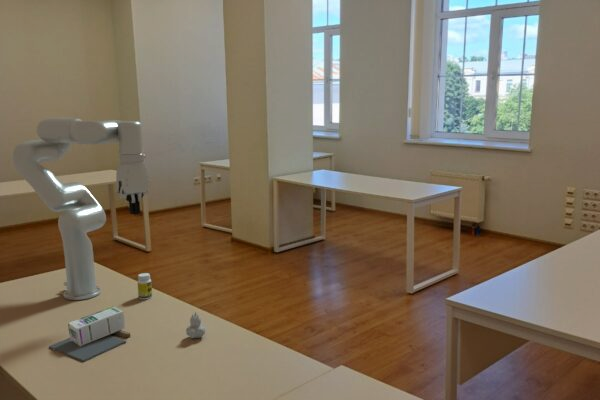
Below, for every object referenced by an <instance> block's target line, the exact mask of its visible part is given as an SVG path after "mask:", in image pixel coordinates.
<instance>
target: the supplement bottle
mask: <svg viewBox="0 0 600 400" xmlns="http://www.w3.org/2000/svg"><path fill="white" fill-rule="evenodd" d="M152 288H153V287H152V279H151V275H150V273H148V272H145V273H140V274H139V273H138V275H137V295H138V299H139V300H149V299H152V298H153V289H152Z"/></svg>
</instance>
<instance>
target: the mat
mask: <svg viewBox="0 0 600 400" xmlns="http://www.w3.org/2000/svg"><path fill="white" fill-rule="evenodd" d="M126 343H127V340H124V339H121V338H119V337H116V336H113V335H111V334H109V335H107V336H105V337H102V338H100V339H97V340H95V341H92V342H90V343H87V344H85V345H82V346H79V345H77V344H76V343H75V342H73V341H71V339H70V337H67V338H65V339H63V340H59V341H58V342H56V343H53V344H51V345H49V346H48V349H51V350H53V349H54V350H53V351H56V352H57V353H58V352H59V353H60V354H63V355H66V356H68V357H70V358H72V359H75V360H78V361H80V362H83V363H85V362H87V361H88V360H91V359H93V358H96V357H99V356H100V355H102V354H104V353H106V352H109V351H111V350H113V349H115V348H117V347H120V346H122V345H124V344H126Z"/></svg>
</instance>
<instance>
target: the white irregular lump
mask: <svg viewBox="0 0 600 400" xmlns="http://www.w3.org/2000/svg"><path fill="white" fill-rule="evenodd" d="M189 321H190V322H189V324H190V325H188V326H187V327H186V329H185V332H186V335H187V336H189V338H190V339H200V338H202V337H203V336H205V332H206V328H205V327H204V324H202V318H201V317H200V316H199V315H198V314H197V311H195V312H194V314H192V315H191V317H190V319H189Z"/></svg>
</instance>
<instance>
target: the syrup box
mask: <svg viewBox="0 0 600 400" xmlns="http://www.w3.org/2000/svg"><path fill="white" fill-rule="evenodd" d="M124 316H125V315H124V311H123V310H121V309H119V308H118V307H115V306H111V307H108V308H106V309H101V310H100V311H96V312H94V313H93V314H89V315H85V316H84V317H80V318H79V319H76V320H73V321H70V322H68V324H67V327H68V334H69V338H70V339H71V341H73V342H75V343H76V344H77V345H79V346H82V345H85V344H87V343H90V342H92V341H95V340H97V339H100V338H102V337H105V336H107V335H112V334H114V332H117V331H119V330H122V331H123V330H124V329H126V328H125V327H126V325H125V317H124Z"/></svg>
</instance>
